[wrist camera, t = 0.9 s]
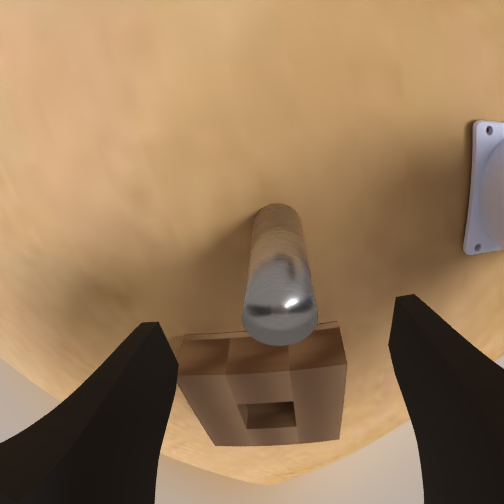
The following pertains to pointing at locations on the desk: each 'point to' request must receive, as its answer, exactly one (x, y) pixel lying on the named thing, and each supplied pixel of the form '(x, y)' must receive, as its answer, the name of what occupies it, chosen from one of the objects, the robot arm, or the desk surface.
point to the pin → (278, 280)
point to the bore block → (265, 387)
